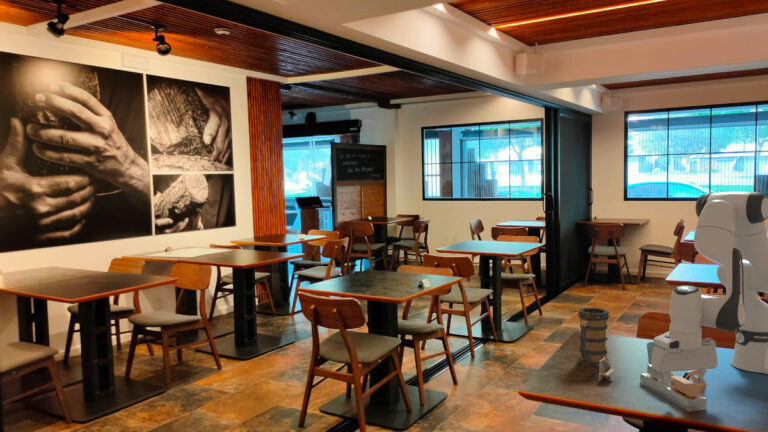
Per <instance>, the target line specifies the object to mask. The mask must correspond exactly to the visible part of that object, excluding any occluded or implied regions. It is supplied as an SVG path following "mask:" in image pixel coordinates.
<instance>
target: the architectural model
mask: <svg viewBox="0 0 768 432" xmlns="http://www.w3.org/2000/svg"><path fill="white" fill-rule="evenodd" d="M611 367H612V366H611V364H610V363H609V361H607V360H605V357H604V358H603V359H602V360H600V366H599V369H598V371H599V373H598V375H599V377H598V378H599V380H598V381H599V382H601V381H602V380H603V379H604V380H608V379H609V378H611V374H613V373H614V372H615V369H613V368H611Z"/></svg>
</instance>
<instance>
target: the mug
mask: <svg viewBox="0 0 768 432" xmlns="http://www.w3.org/2000/svg"><path fill="white" fill-rule="evenodd" d="M576 316H578V318H579V327H580V335H579V337H578V338H579V339H580V346H579V349H578V351H579V355H578V356H576V358H577V359H578V360H576V362H577V363H579V364H580V365H582V366H584V367H589V368H599V366H600V360H602V359H603V358H604V357H605V360H607V361H608V362H609V361H610V359H608V357H607V354H608V349H607V345H606V344H607V343H606V342H607V341H608V339H609V338H608V337H607V329H608V320H609V318H611V313H610V312H609V310H608V309H606V308H605V309H604V308H599V307H581V308H579V309H578V311H577V314H576Z"/></svg>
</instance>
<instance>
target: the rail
mask: <svg viewBox="0 0 768 432" xmlns="http://www.w3.org/2000/svg"><path fill="white" fill-rule="evenodd" d="M646 366H647V370H646V371H647V372H643V373H640V374H639V375H640V379H639V380H640V382H639V383H640V385H642V386H644V387H646V388H647V389H649V390H650V391H652V392H653V393H656V395H659V396H660V397H662V398H664V399H665V400H666V401H667V400H668V401H669V402H671V403H672V402H673V403H672V404H675V405H676V406H677V407H679V408H681V409H683V410H685V411H686V412H688V413H689V412H700V411H702V412H703V411H707V398H706V397H704V396H702V395H700V394H699V396H695V398H688V397H686V394H685V393H683V392H681V391H675V390H674V387H672V386H669V385H667V384H666V378H665V376H664V374H663V372H658V371H656V370H654V369H653V368H652V365H651V364H649V363H648V364H647V365H646ZM671 376H674V371H673V372H671V375H670V377H671Z"/></svg>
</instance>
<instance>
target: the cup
mask: <svg viewBox="0 0 768 432" xmlns="http://www.w3.org/2000/svg"><path fill="white" fill-rule="evenodd" d="M654 346H656V344H654V341H649V342H647V343H646V350H647V360H648V364H651V358H652V350H653V348H654Z"/></svg>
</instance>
